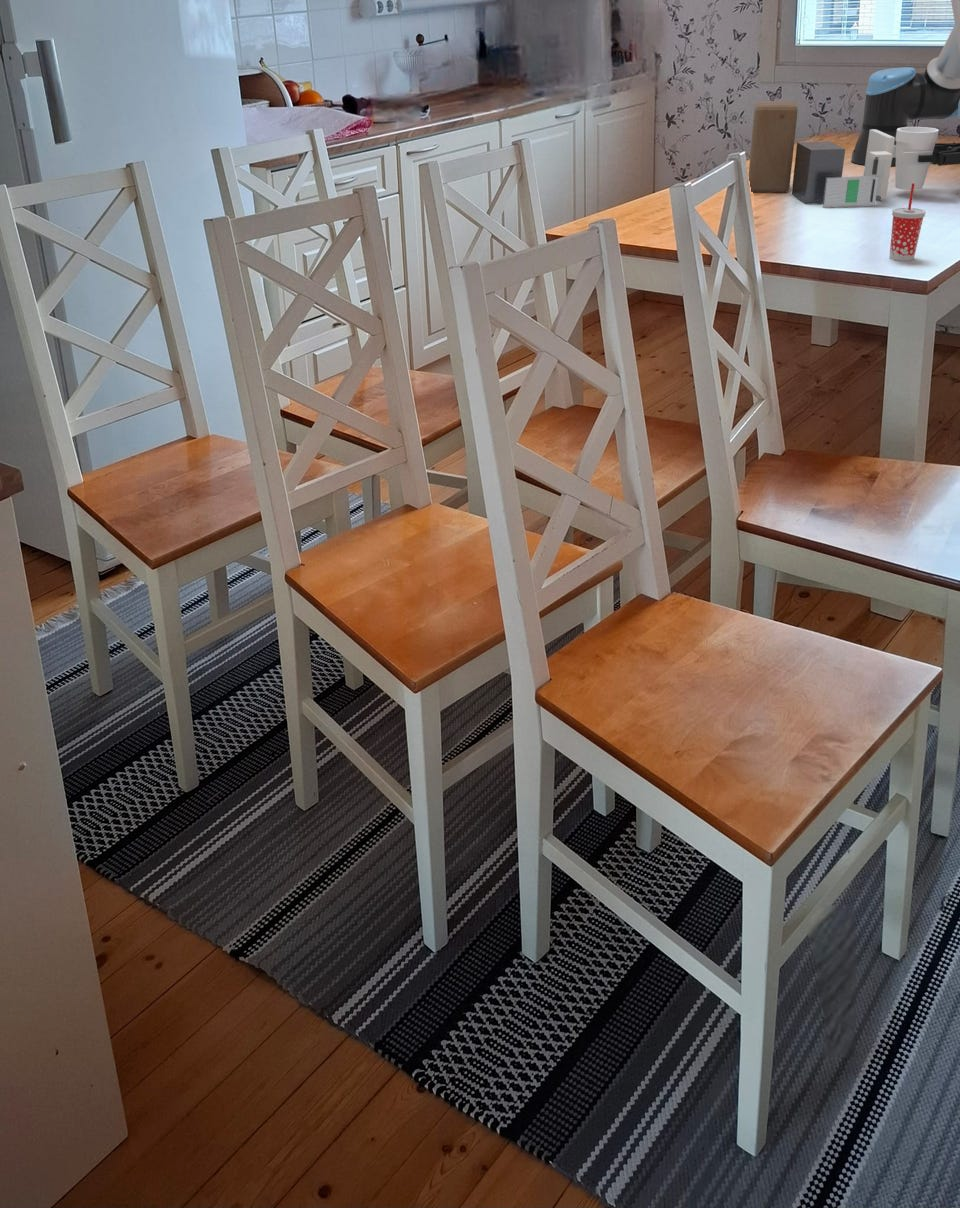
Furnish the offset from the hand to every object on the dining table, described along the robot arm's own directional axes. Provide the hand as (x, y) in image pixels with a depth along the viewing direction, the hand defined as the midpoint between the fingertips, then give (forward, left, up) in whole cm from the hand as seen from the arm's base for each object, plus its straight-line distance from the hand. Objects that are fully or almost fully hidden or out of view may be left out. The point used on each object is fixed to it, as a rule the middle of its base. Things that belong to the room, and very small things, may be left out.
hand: (895, 155), depth 277 cm
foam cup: (-4, +2, -8) cm, 9 cm away
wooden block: (+16, -25, -10) cm, 31 cm away
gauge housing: (+12, -4, -9) cm, 16 cm away
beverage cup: (+46, +42, -10) cm, 63 cm away
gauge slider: (+6, -1, -8) cm, 10 cm away
